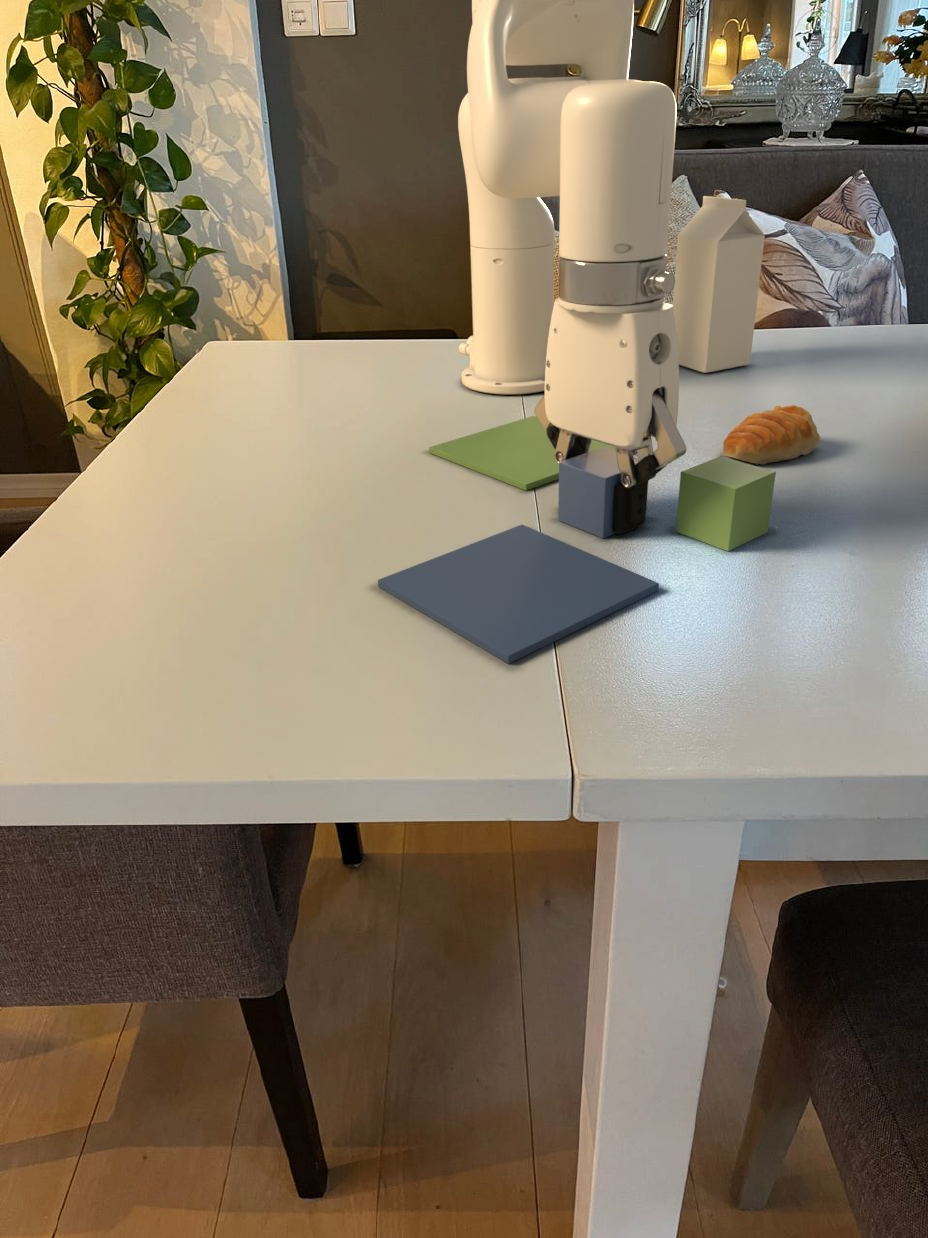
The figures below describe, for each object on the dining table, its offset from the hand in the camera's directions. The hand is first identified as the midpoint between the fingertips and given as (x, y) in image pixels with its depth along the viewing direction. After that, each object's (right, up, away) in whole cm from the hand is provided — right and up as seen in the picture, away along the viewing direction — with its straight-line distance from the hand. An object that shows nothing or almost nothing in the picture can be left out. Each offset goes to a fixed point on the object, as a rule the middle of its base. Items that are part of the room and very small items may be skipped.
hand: (601, 515), depth 74 cm
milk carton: (+20, +23, +41) cm, 51 cm away
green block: (+9, -2, -3) cm, 9 cm away
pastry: (+18, +7, +13) cm, 23 cm away
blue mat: (-7, -6, -9) cm, 14 cm away
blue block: (0, 0, 0) cm, 0 cm away
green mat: (-5, +8, +15) cm, 17 cm away
